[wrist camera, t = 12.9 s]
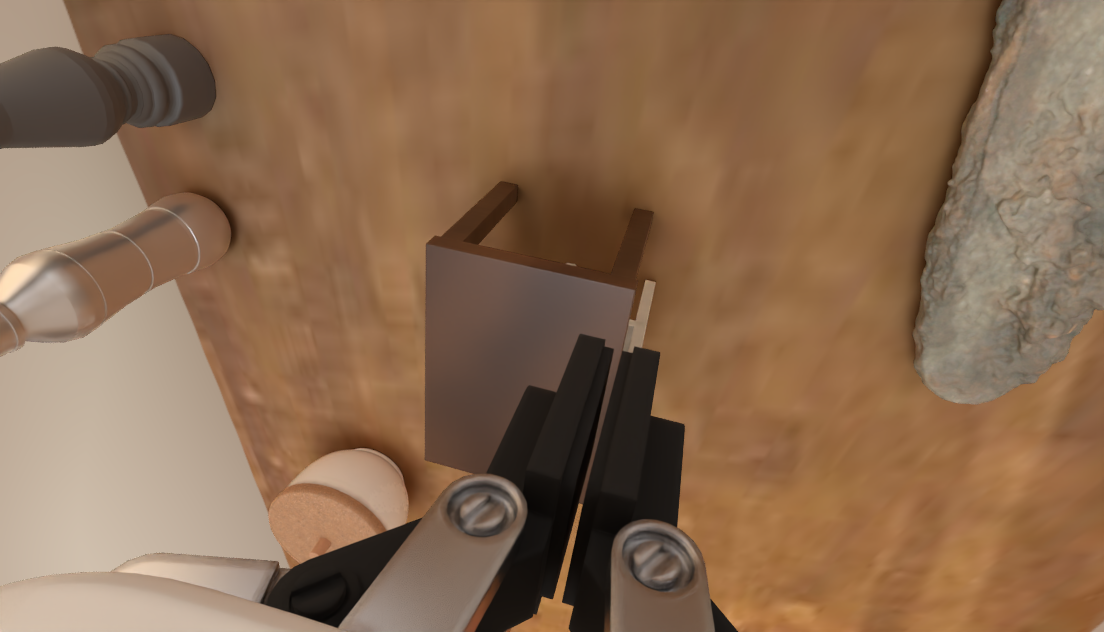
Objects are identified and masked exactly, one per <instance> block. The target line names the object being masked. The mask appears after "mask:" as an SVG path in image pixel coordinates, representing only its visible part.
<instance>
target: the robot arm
mask: <svg viewBox="0 0 1104 632" xmlns="http://www.w3.org/2000/svg"><path fill="white" fill-rule="evenodd" d="M605 341H606V339H602V338H597V337H593V336H589V335H585V334H579V336H578V339H577V342H576V344H575V347H574V349H573V352H572V354H571V357H570V359H569V362H568V364H567V367H566V369H565V372H564V375H563V377H562V380H561V382H560V385H559V387H558V390H557V392H554V391H550V390H546V389H543V388H539V387H535V386H531V385H529V386H528V387H527V388H526V390H525V392H524V394H523V396H522V398H521V400H520V402H519V405H518V407H517V409H516V411H515V413H514V415H513V417H512V419H511V421H510V424H509V426H508V428H507V430H506V432H505V434H504V436H503V438H502V441H501V443H500V445H499V447H498V449H497V451H496V453H495V455H494V458H493V460H492V462H491V464H490V466H489V468H488V470H487V472H486V474H478V473H477V474H472V475H468V476H464V477H462V478H460V479H458V480H456V481H454V482H452V483H451V484H450V485H449V486H448V487H447V488H446V489H445V490H444V491H443V492H442V493H441V495H440V496H439V497H438V499H437V500H436V501H435V502H434V504H433V505H432V506H431V508H430V509H429V510H428V512H427V513H426V514H425V515H424V517H423V518H420V519H418V520H415V521H412V522H409V523H407V524H404V525H401V526H399V527H396V528H393V529H390V530H388V531H385V532H382V533H380V534H377V535H374V536H371V537H369V538H366V539H363V540H361V541H358V542H355V543H352V544H350V545H347V546H344V547H342V548H339V549H336V550H333V551H331V552H328V553H325V554H323V555H320V556H317V557H314V558H312V559H309V560H307V561H305V562H303V563H301V564H299V565H297V566H295V567H293V568H292V569H286V568H280V567H279V562H278V561H267V560H254V559H240V558H227V557H213V556H200V555H186V554H173V553H155V554H145V555H143V556H139V557H137V558H134V559H131V560H128V561H126V562H125V563H123V564H122V565H120V566H118V567H117V568H115V569H114V570H112V571H111V572H80V573H68V574H56V575H48V576H42V577H36V578H30V579H26V580H22V581H17V582H13V583H9V584H6V585H3V586H0V632H510V630H511V628H512V627H514V626H516V625H518V624H520V623H522V622H524V621H526V620H528V619H530V618H532V617H533V614H536V615H537V611H538V608H539V604H540V601H541V597H542V596H543V597H546V598H549V599H552V600H553V597H554V593H555V590H556V586H557V582H558V579H559V575H560V571H561V567H562V564H563V560H564V556H565V553H566V549H567V545H568V541H569V538H570V534H571V530H572V526H573V523H574V519H575V515H576V512H577V508H578V504H579V500H580V497H581V493H582V489H583V485H584V482H585V478H586V474H587V471H588V467H589V463H590V459H591V455H592V451H593V447H594V442H595V438H596V433H597V428H598V423H599V419H600V414H601V409H602V404H603V400H604V395H605V390H606V386H607V381H608V376H609V371H610V367H611V362H612V357H613V352H614V348H609V347H605ZM659 358H660V352H657V351H653V350H648V349H644V348H640V347H636V346H634V350H633V353H630V352H626V351H622V354H621V358H620V361H619V365H618V369H617V373H616V377H615V381H614V384H613V388H612V392H611V396H610V400H609V403H608V407H607V411H606V415H605V419H604V423H603V426H602V430H601V434H600V438H599V442H598V446H597V449H596V453H595V457H594V461H593V465H592V468H591V472H590V476H589V480H588V484H587V489H586V493H585V497H584V502H583V507H582V511H581V516H580V521H579V525H578V530H577V535H576V539H575V544H574V549H573V553H572V558H571V563H570V567H569V572H568V577H567V581H566V586H565V591H564V595H563V600H562V603H566V604H569V605H572V606H574V608H573V612H572V616H571V620H570V625H569V630H570V632H738V631H737V630H736V629H735V628H734V626H733V625H732V624H731V623H730V622H729V620H728V619H727V618H726V617H725V616H724V614H723V613H722V612H721V611H720V610H719V608H718V607H717V606H716V605H715V604H714V602H713V601H712V600H711V599H710V594H709V587H708V580H707V574H706V567H705V563H704V560H703V557H702V553H701V551H700V550H699V548H698V547H697V545H696V544H695V542H694V541H693V540H692V539H691V538H690V537H689V536H688V535H687V534H685V533H684V532H683V531H682V530H680V529H678V528H677V522H678V509H679V497H680V484H681V471H682V458H683V445H684V432H685V426H684V424H681V423H677V422H673V421H669V420H666V419H662V418H658V417H654V416H650V415H651V409H652V402H653V396H654V390H655V384H656V377H657V371H658V365H659Z"/></svg>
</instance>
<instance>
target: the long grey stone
mask: <svg viewBox="0 0 1104 632" xmlns="http://www.w3.org/2000/svg"><path fill="white" fill-rule="evenodd" d="M995 21H996V23H997V25H996V27H995V28H994V29H993V41H994V45H993V48H992V49H991V50H990V53H991V54H992V61H991V63H990V66H989V70H988V72H987V73H986V75H985V79H984V82H983V84H982V86H981V88H980V92H979V96H978V99H977V101H976V102H975V103H974V104H973V105H972V107H971V109H970V112H969V113H968V114H967V116H966V119H965V121H964V123H963V125H962V129H961V135H962V143H961V146H960V148H959V150H958V155H957V157H956V158H955V163H954V164H953V165H952V169H953V173H952V174H953V175H952V179H951V180H949V181H948V183H947V184H948V185H949V188H948V189H947V192H946V199H945V202H944V204H943V205H942V207H941V209H940V210H939V213H938V215H937V218H936V221H935V225H934V227H933V229H932V230H931V231H930V233H929V234H928V240H927V244H926V251H925V257H924V258H925V260H926V266H925V268H924V269H923V274H922V276H921V278H920V283H921V288H922V290H921V297H922V298H921V301H920V308H919V313H918V316H917V317H916V322H915V326H916V327H915V328H914V330H913V332H912V336H913V338H914V340H915V344H916V350H915V355H916V357H915V359H914V368H915V369H916V371H917V373H918V375H919V376H920V377H921V379H922V383H923V384H924V385H925V386H926V387H927V388H928V389H929V390H931V391H932V392H934V393H935V394H936V395H937V396H939V397H941V398H942V399H944V400H947V401H951V402H953V403H960V404H980V403H984V402H989V401H992V400H994V399H996V398H998V397H1000V396H1002V395H1004V394H1006V393H1007V392H1009V391H1010V390H1012V389H1013V388H1016V387H1018V386H1019V385H1020V384H1031V383H1035V382H1036V381H1037V380H1038V377H1039V376H1040V375H1041V374H1043V373H1045V372H1046V371H1047V370H1048V369H1049V368H1050V367H1051V365H1052V364H1054V363H1057V362H1061V361H1063V360H1064V359H1065V357H1066V356H1067V354H1068V351H1069V350H1068V349H1069V348H1070V343H1071V341H1072V338H1073V337H1074V336H1076V335H1077V334H1079V333H1080V331H1081V330H1082V328H1083V325H1085V324H1087V323H1088V321H1089V320H1090V319H1091V318H1092V315H1093V311H1094V309H1097V310H1104V0H1003V1H1002V2H1001V5H1000V7H999V8H998V10H997V13H996V18H995Z"/></svg>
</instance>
